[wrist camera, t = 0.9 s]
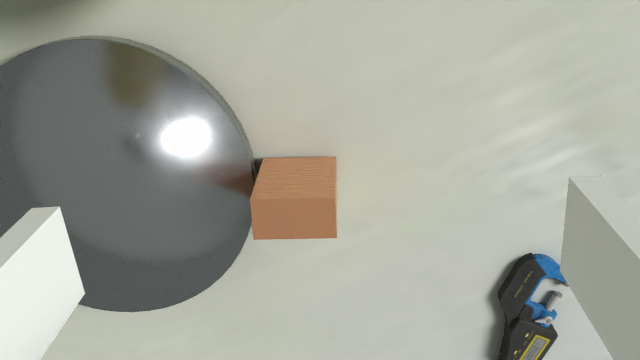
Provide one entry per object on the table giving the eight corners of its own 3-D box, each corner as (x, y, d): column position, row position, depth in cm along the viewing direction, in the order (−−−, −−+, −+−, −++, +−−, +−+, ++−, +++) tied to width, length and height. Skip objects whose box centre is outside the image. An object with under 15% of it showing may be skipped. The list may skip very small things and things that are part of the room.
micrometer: (532, 256, 38) (599, 283, 39) (523, 242, 40) (587, 268, 40) (446, 390, 42) (508, 413, 43) (442, 373, 44) (501, 394, 45)
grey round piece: (-64, 40, 34) (-141, 62, 29) (332, 27, 33) (331, 47, 28) (11, 300, 41) (-40, 358, 36) (339, 296, 41) (340, 354, 35)
